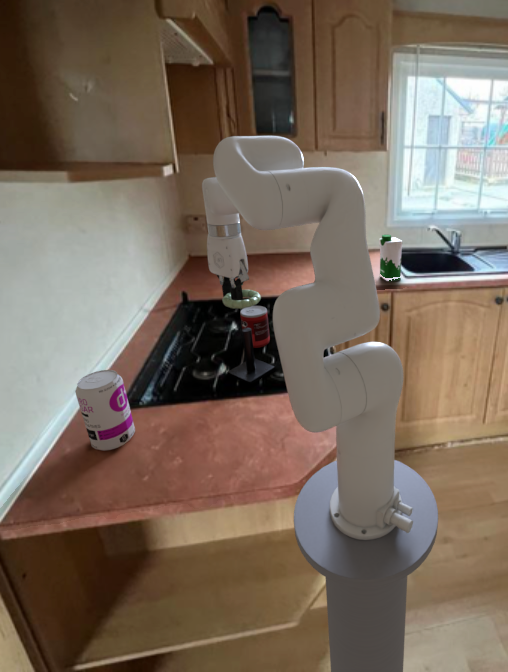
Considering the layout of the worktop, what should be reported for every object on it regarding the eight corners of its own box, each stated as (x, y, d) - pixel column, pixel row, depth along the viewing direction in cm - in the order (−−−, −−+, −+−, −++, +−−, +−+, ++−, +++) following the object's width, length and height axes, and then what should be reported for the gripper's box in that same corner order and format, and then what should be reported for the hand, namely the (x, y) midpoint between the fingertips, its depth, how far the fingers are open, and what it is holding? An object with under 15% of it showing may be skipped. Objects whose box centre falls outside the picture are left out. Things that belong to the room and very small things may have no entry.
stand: (275, 370, 113) (271, 327, 109) (250, 386, 106) (244, 340, 102) (252, 361, 118) (248, 319, 113) (227, 375, 111) (221, 331, 106)
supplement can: (143, 426, 92) (129, 368, 87) (121, 453, 84) (104, 391, 79) (107, 425, 92) (91, 367, 87) (82, 452, 84) (63, 390, 79)
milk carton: (377, 276, 187) (377, 233, 180) (395, 274, 190) (396, 232, 183) (385, 283, 179) (385, 238, 172) (403, 280, 182) (405, 236, 175)
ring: (268, 300, 106) (267, 293, 105) (240, 312, 99) (239, 305, 98) (243, 293, 111) (243, 286, 110) (215, 304, 103) (214, 297, 103)
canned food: (248, 336, 132) (244, 305, 128) (272, 337, 132) (269, 305, 128) (240, 348, 125) (236, 315, 121) (266, 348, 125) (263, 315, 121)
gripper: (190, 228, 101) (201, 297, 108) (234, 237, 93) (243, 311, 99) (216, 223, 107) (224, 289, 113) (259, 231, 99) (266, 301, 105)
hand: (233, 299), depth 106 cm, fingers closed on ring, 2 cm apart
